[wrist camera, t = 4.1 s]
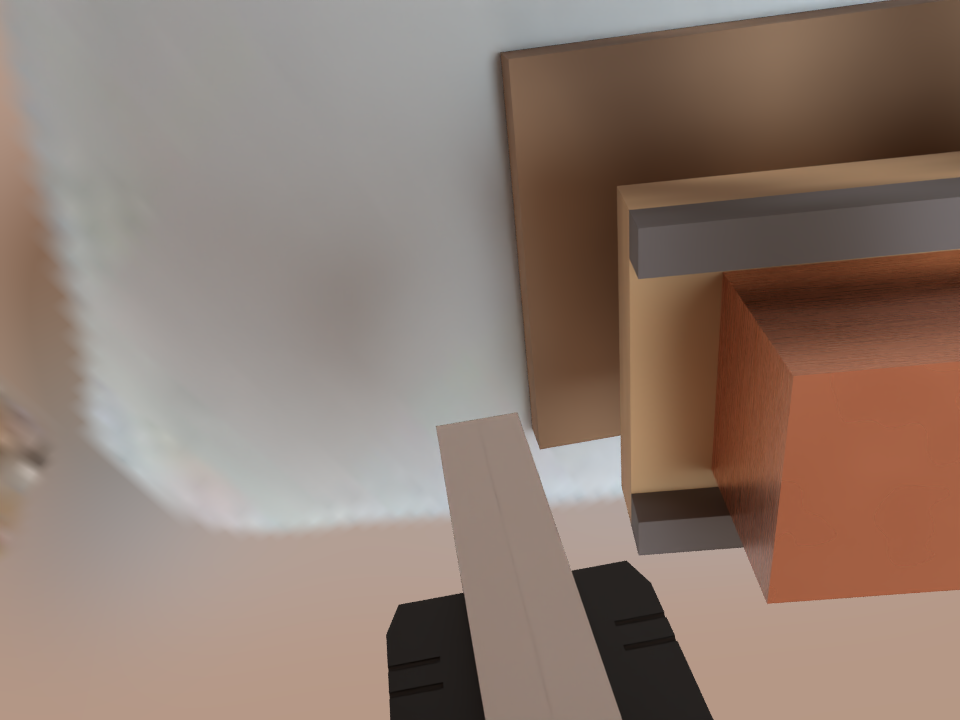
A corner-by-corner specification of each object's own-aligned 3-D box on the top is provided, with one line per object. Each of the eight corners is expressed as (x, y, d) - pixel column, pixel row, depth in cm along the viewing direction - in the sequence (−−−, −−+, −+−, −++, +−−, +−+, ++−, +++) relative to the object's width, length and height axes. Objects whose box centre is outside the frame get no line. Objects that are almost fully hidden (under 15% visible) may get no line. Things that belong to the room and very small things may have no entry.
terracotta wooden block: (711, 470, 18) (767, 603, 14) (722, 272, 15) (793, 376, 12) (977, 448, 18) (1100, 579, 14) (1033, 242, 15) (1198, 340, 12)
